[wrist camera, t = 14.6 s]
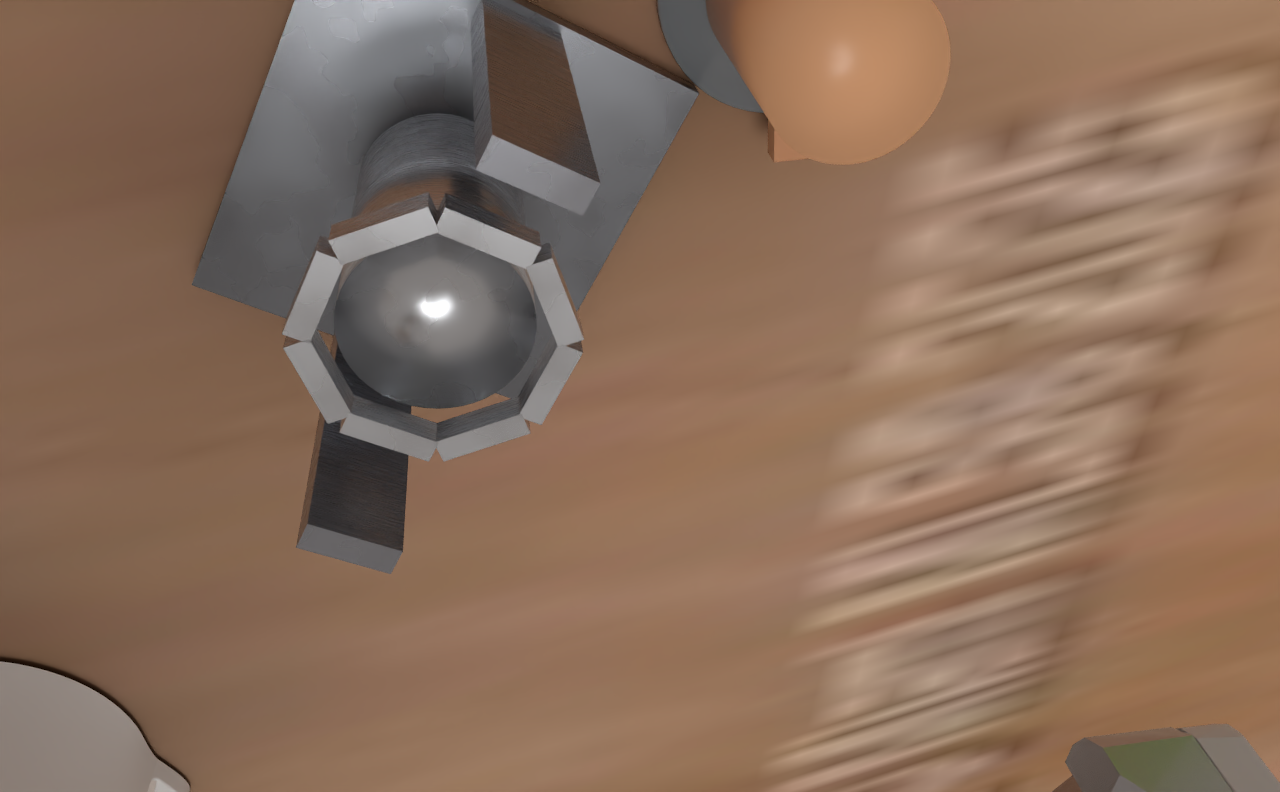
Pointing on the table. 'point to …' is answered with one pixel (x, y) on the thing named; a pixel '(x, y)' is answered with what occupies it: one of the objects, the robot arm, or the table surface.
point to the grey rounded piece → (702, 53)
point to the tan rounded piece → (837, 71)
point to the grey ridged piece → (431, 228)
